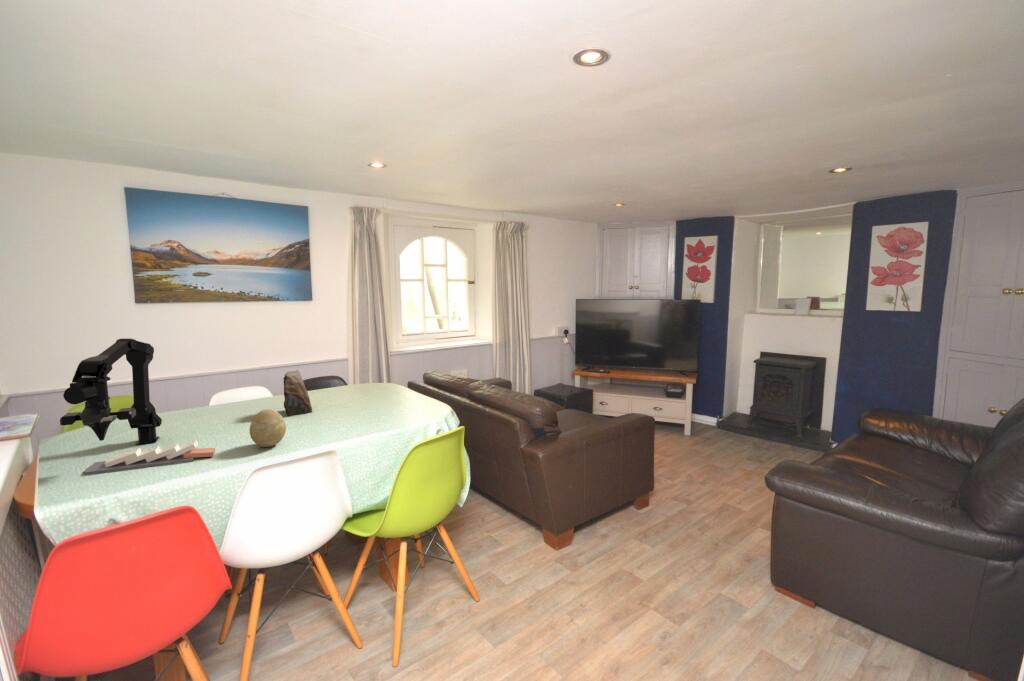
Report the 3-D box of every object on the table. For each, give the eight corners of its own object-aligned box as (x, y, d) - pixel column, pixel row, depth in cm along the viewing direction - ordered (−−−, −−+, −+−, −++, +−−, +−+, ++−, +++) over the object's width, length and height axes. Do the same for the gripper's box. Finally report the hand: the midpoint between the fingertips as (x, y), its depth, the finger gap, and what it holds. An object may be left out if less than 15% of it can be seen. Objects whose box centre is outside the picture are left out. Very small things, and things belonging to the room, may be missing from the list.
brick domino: (186, 448, 169) (215, 447, 173) (186, 453, 169) (215, 451, 173) (183, 453, 164) (213, 452, 168) (183, 458, 165) (213, 456, 168)
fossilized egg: (292, 440, 187) (291, 405, 185) (276, 452, 175) (274, 414, 173) (262, 439, 188) (260, 404, 186) (243, 451, 175) (241, 413, 173)
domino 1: (109, 458, 160) (139, 447, 163) (111, 462, 160) (141, 451, 164) (104, 463, 155) (135, 452, 159) (106, 467, 156) (137, 456, 159)
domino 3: (149, 453, 165) (177, 443, 168) (151, 457, 165) (179, 446, 168) (145, 458, 160) (174, 447, 164) (147, 462, 161) (176, 451, 164)
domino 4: (169, 451, 167) (196, 439, 170) (171, 454, 168) (198, 443, 171) (165, 456, 163) (193, 444, 166) (168, 459, 163) (195, 448, 166)
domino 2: (129, 455, 162) (158, 445, 166) (131, 459, 163) (160, 449, 166) (124, 461, 158) (154, 450, 161) (126, 465, 158) (156, 454, 162)
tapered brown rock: (286, 417, 217) (284, 376, 215) (277, 411, 226) (275, 371, 224) (313, 412, 226) (311, 372, 223) (304, 406, 235) (302, 368, 232)
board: (95, 465, 160) (94, 462, 160) (197, 452, 173) (197, 450, 173) (84, 475, 152) (84, 472, 152) (192, 461, 165) (192, 458, 165)
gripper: (49, 405, 144) (55, 452, 146) (124, 399, 152) (129, 444, 154) (64, 396, 154) (70, 441, 156) (134, 391, 162) (138, 433, 164)
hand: (102, 440), depth 157 cm, fingers closed
